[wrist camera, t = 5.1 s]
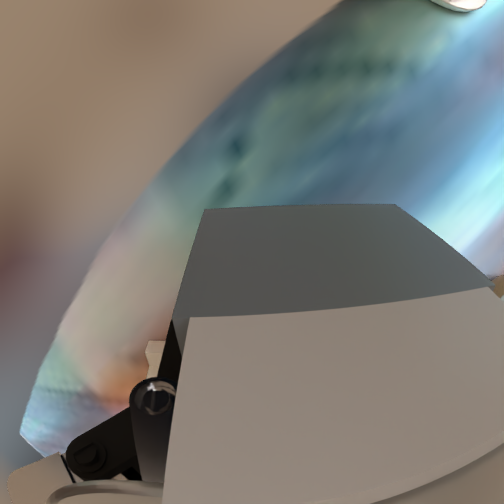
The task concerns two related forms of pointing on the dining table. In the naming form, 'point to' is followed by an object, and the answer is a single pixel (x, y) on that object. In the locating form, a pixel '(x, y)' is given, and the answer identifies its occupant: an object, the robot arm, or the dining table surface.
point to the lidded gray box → (329, 358)
